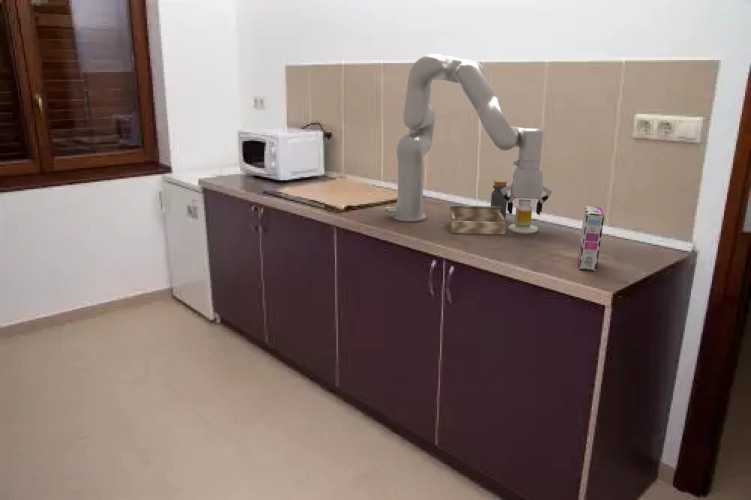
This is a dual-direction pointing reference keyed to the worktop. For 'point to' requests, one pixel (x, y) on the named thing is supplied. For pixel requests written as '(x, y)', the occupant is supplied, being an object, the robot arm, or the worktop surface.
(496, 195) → the bottle
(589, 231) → the candy bar box
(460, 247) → the worktop surface
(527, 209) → the supplement bottle
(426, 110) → the robot arm
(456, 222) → the beige rectangular tray
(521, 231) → the saucer
